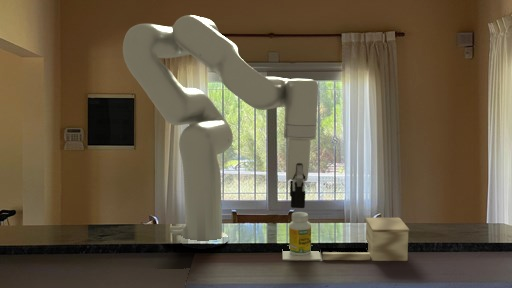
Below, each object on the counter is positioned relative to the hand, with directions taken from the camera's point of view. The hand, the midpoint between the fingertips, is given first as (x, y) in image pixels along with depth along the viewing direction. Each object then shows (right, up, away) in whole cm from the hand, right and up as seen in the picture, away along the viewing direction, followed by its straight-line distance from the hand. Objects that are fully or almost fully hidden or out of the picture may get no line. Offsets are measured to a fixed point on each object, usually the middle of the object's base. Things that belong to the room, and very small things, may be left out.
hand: (296, 201), depth 117 cm
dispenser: (+15, -13, +1) cm, 20 cm away
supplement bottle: (+1, -13, +1) cm, 13 cm away
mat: (+1, -13, +1) cm, 13 cm away
